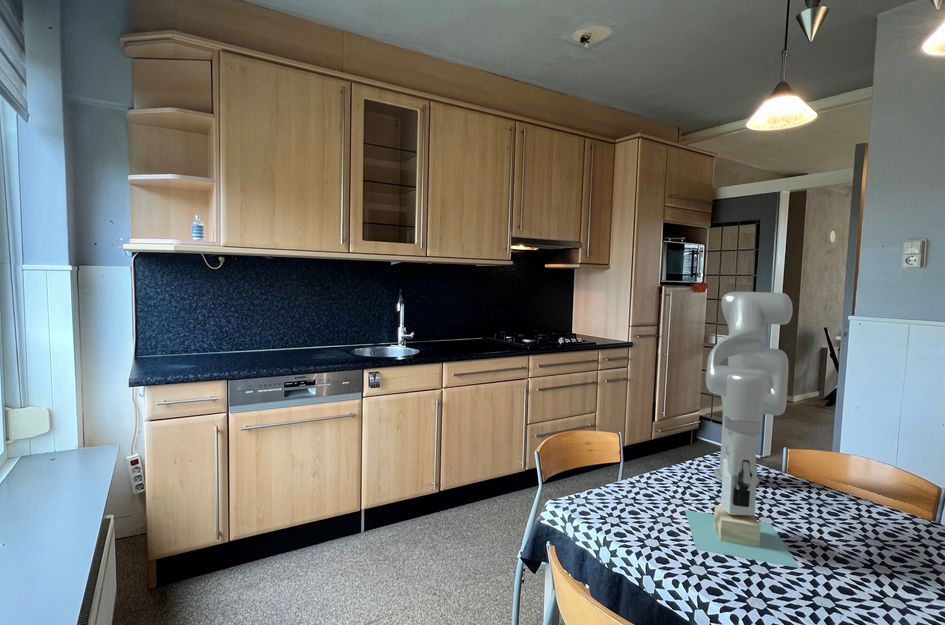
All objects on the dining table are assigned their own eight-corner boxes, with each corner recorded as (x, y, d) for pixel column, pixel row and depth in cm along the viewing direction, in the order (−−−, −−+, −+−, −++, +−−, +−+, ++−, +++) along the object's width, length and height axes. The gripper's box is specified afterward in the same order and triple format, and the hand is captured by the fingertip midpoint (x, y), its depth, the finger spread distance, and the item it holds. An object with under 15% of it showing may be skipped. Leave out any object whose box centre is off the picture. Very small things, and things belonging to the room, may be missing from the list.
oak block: (713, 524, 117) (715, 505, 117) (750, 530, 115) (751, 510, 114) (720, 540, 109) (721, 519, 109) (759, 547, 107) (760, 526, 107)
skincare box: (745, 508, 114) (747, 458, 113) (755, 516, 109) (758, 465, 109) (719, 506, 114) (722, 458, 113) (729, 515, 110) (731, 464, 109)
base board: (684, 514, 125) (684, 509, 124) (770, 527, 119) (770, 523, 118) (695, 554, 105) (696, 549, 105) (799, 573, 100) (799, 567, 99)
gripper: (717, 414, 120) (713, 483, 121) (732, 434, 104) (728, 514, 105) (750, 417, 118) (746, 488, 119) (771, 438, 101) (766, 519, 102)
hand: (737, 499), depth 112 cm, fingers closed on skincare box, 5 cm apart
